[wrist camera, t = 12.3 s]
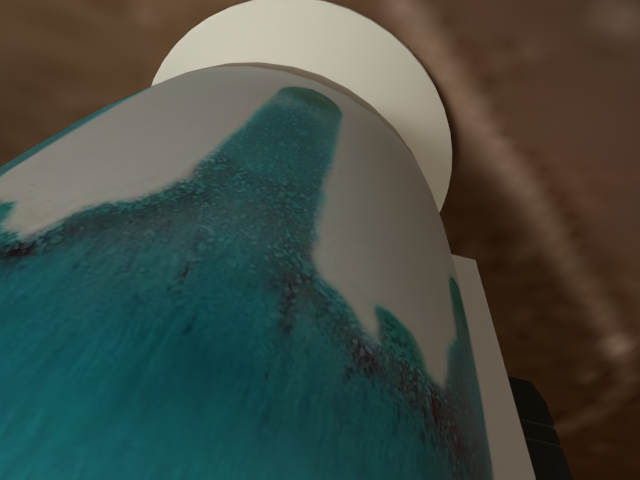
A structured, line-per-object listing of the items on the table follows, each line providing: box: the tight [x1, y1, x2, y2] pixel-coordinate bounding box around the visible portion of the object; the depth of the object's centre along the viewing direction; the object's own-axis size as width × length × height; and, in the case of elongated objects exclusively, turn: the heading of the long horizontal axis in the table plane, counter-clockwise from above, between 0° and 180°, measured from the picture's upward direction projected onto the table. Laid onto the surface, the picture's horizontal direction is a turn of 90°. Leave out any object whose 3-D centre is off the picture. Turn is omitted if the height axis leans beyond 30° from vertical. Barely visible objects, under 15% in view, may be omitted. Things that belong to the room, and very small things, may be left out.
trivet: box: [152, 0, 452, 213], centre depth 18 cm, size 12×12×1 cm
